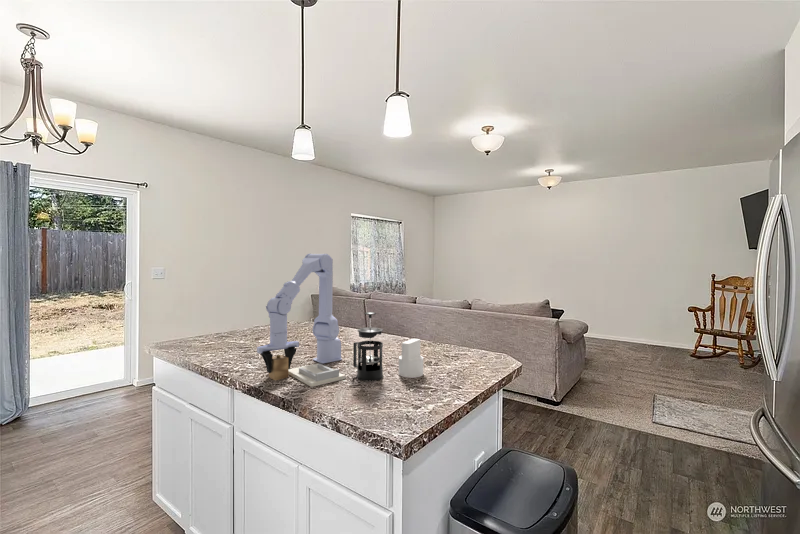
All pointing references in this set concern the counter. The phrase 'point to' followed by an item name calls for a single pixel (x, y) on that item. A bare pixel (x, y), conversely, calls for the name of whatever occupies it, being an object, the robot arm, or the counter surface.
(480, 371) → the counter surface
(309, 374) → the shallow rectangular tray
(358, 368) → the french press
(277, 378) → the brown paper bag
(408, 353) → the cylinder with rectangular tab
